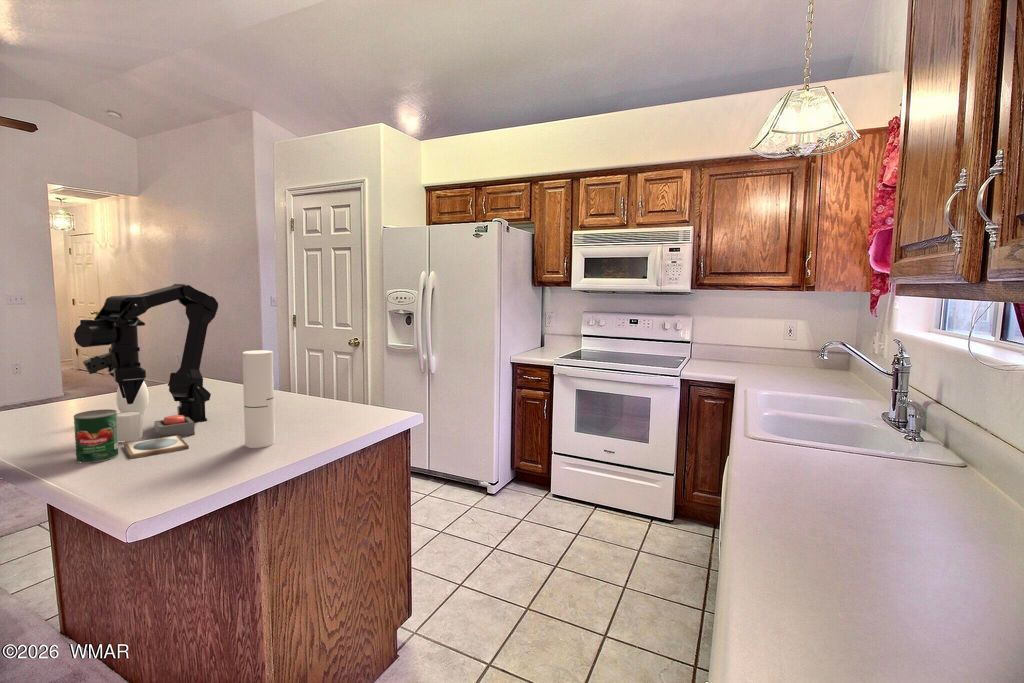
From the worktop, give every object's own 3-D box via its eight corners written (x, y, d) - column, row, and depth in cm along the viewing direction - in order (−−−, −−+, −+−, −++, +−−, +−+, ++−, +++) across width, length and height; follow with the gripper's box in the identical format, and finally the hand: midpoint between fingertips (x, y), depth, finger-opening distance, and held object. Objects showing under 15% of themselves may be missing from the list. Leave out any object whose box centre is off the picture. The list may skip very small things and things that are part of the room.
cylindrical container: (280, 441, 134) (279, 351, 131) (259, 449, 127) (257, 354, 124) (260, 438, 136) (258, 349, 133) (238, 445, 129) (236, 352, 127)
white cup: (131, 443, 129) (130, 417, 128) (106, 442, 129) (104, 416, 128) (151, 435, 136) (150, 411, 135) (127, 434, 136) (125, 410, 135)
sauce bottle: (136, 421, 149) (133, 363, 147) (111, 420, 149) (107, 362, 147) (155, 415, 157) (152, 359, 155) (131, 414, 157) (128, 359, 155)
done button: (182, 421, 141) (182, 414, 141) (186, 424, 138) (186, 417, 137) (162, 423, 138) (162, 416, 137) (165, 427, 134) (165, 420, 134)
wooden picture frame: (178, 437, 134) (178, 434, 134) (188, 448, 126) (188, 444, 126) (123, 446, 126) (123, 442, 126) (130, 458, 117) (130, 454, 117)
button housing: (188, 428, 144) (187, 416, 143) (194, 434, 138) (194, 422, 138) (154, 433, 138) (154, 421, 138) (160, 439, 132) (159, 427, 132)
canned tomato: (83, 466, 112) (80, 419, 111) (70, 459, 116) (67, 413, 115) (124, 456, 119) (122, 412, 118) (111, 450, 123) (109, 407, 122)
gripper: (81, 341, 131) (85, 398, 132) (87, 349, 118) (91, 412, 119) (133, 339, 138) (136, 393, 140) (144, 346, 125) (147, 405, 127)
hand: (127, 400), depth 131 cm, fingers open, 9 cm apart
